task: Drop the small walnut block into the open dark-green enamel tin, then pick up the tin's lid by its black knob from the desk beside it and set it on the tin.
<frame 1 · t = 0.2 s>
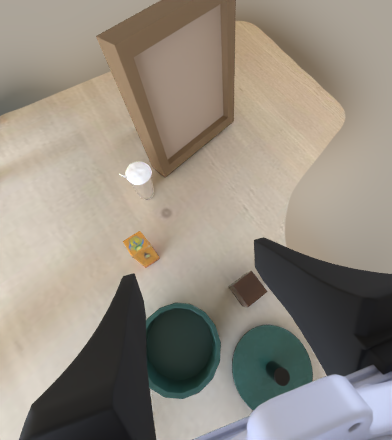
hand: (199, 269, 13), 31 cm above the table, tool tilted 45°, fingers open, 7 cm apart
lid: (271, 368, 38), point 1 cm above the table
photo frame: (178, 131, 54), on the table
milkshake: (144, 193, 49), on the table
tin: (179, 341, 40), on the table
supplement box: (148, 256, 44), on the table
block: (244, 289, 43), on the table
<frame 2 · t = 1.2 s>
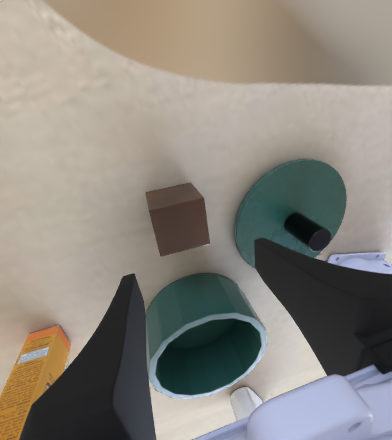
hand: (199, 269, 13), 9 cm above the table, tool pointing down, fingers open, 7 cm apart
lid: (290, 220, 25), point 1 cm above the table
tin: (196, 314, 28), on the table
supplement box: (50, 337, 24), on the table
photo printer: (246, 398, 41), on the table
block: (172, 208, 22), on the table
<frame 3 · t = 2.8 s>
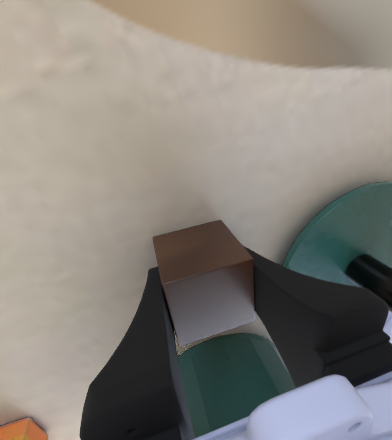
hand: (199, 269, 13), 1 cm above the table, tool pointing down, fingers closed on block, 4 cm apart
lid: (352, 263, 18), point 1 cm above the table
tin: (218, 381, 21), on the table
supplement box: (18, 430, 17), on the table
block: (192, 256, 15), on the table, touching gripper
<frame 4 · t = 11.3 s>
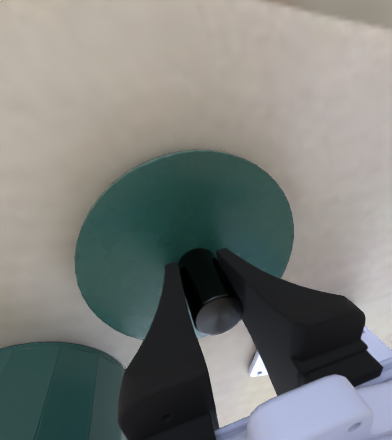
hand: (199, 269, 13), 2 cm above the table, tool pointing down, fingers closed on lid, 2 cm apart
lid: (194, 259, 14), point 1 cm above the table, touching gripper
tin: (41, 402, 17), on the table
when the fingers open (7 cm above the table, at t = 15.1 s): lid stays where it is, resting on tin.
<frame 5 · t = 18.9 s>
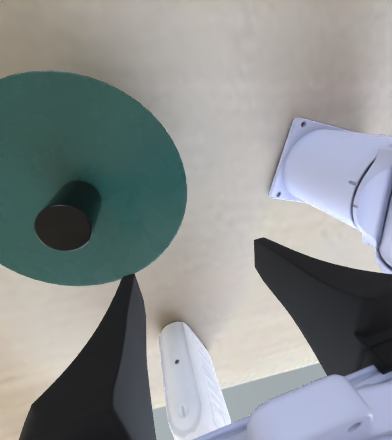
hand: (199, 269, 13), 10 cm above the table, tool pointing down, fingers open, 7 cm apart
lid: (82, 196, 14), point 6 cm above the table, touching tin
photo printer: (184, 342, 32), on the table
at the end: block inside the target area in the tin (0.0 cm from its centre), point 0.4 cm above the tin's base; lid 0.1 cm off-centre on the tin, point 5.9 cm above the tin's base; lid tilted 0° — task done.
